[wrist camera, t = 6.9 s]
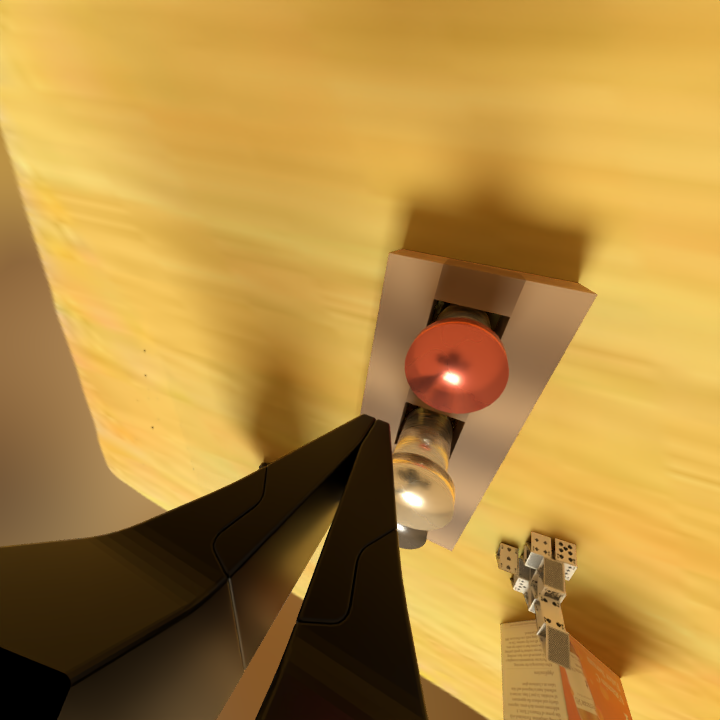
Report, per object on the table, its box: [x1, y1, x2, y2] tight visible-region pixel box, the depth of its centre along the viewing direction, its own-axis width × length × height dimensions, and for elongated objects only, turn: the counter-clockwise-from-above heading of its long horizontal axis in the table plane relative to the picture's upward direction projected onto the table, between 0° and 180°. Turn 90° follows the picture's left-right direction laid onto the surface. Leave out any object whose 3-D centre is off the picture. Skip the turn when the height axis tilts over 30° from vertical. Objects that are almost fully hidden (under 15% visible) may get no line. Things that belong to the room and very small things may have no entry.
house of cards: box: [496, 531, 577, 671], centre depth 20 cm, size 9×9×8 cm
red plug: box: [405, 304, 509, 414], centre depth 14 cm, size 4×4×6 cm
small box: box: [500, 619, 632, 720], centre depth 22 cm, size 8×6×10 cm
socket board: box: [360, 249, 597, 551], centre depth 19 cm, size 20×9×4 cm, turn 172°
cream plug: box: [392, 407, 455, 530], centre depth 15 cm, size 4×4×6 cm
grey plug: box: [397, 522, 428, 549], centre depth 21 cm, size 4×4×6 cm
